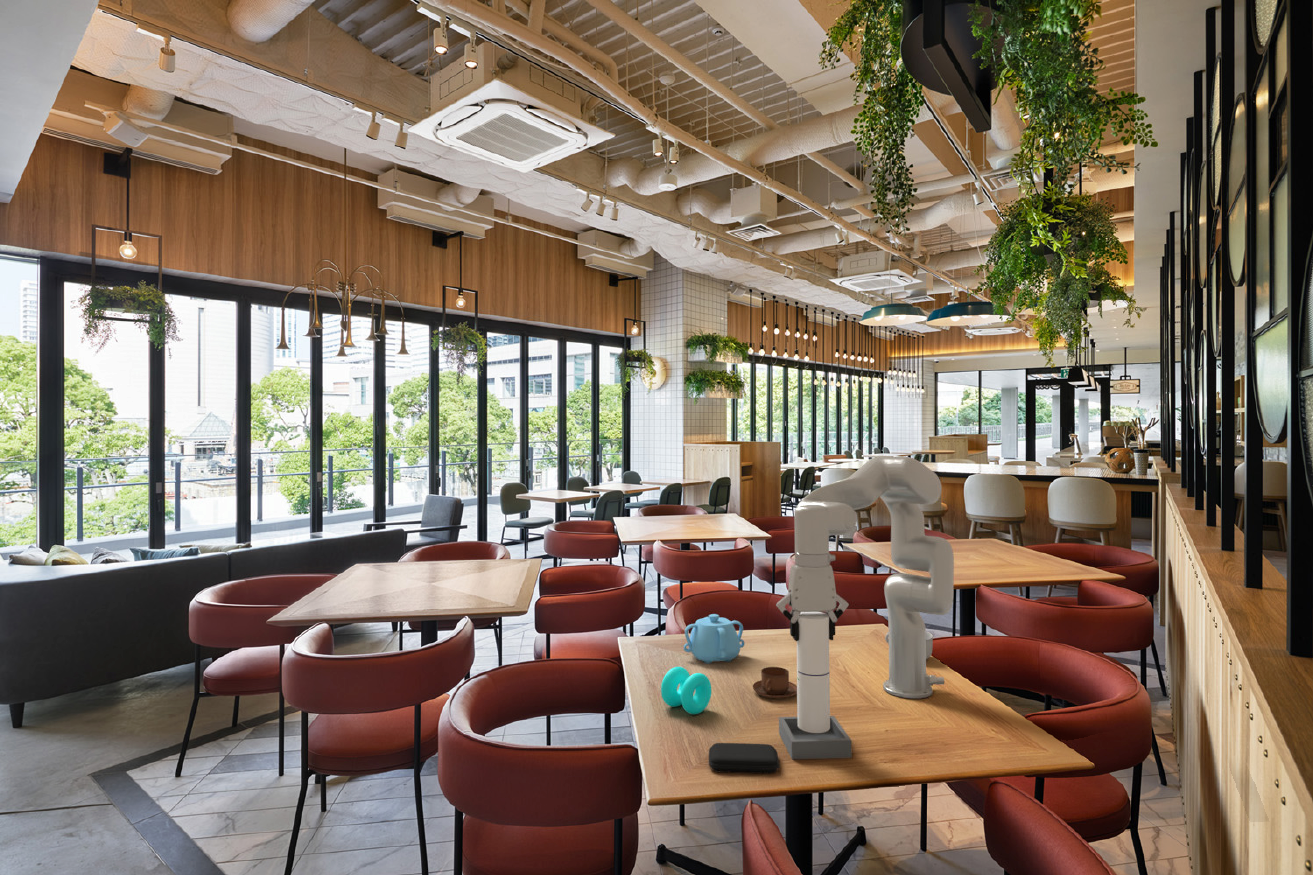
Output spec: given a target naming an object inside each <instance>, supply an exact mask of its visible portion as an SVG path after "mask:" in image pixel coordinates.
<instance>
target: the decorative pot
mask: <svg viewBox="0 0 1313 875" xmlns="http://www.w3.org/2000/svg"><path fill="white" fill-rule="evenodd" d="M734 625H738V626H739V629H738V633H737V631H736V630H737V629H736V628H735V626H734ZM689 630H691V631H690V635H689ZM743 633H744V626H743V624H742V623H741V622H740V621H738V620H732V621H731V620H729V619H728V618H726V617H720V615H719V614H717V613H712V614H709V615H708V616H705V617H703V618H699V619H697V620H696V621H695V623H691V624H688V625H687V626H686V627H685V629H684V637H685V638H686V643H685V644H684V645H683V651H684V652H686V653H691V654H692V655H693V657H694V658H695V659H697V660H699V661H703V663H704V664H712V663H713V662H721V661H722V662H726V663H729V662H732V660H733V659H736V658H737V657H738V656H739V653H740V651H741V648H743V647H745V641H744V639H742V635H743ZM740 642H741V643H740ZM687 646H688V648H687Z"/></svg>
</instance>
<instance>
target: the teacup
mask: <svg viewBox="0 0 1313 875" xmlns="http://www.w3.org/2000/svg"><path fill="white" fill-rule="evenodd" d="M933 638H934V634H932V633H931V632H929V631H927V630H926V660H928V659H929V658H930V657H931V656H932V653H933V644H934V642H933V641H934V640H933ZM884 639H885V642H886V643H887V645H889V631H888V632H886V634H885V637H884Z"/></svg>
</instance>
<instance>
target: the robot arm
mask: <svg viewBox="0 0 1313 875" xmlns="http://www.w3.org/2000/svg"><path fill="white" fill-rule="evenodd" d="M942 489H943V488H942V483H941V480H940V477H939V476H938V475H937V473H935V471H933V470H932V469H931V468H929V467H928V466H926V465H925V464H924V463H922V462H921V461H919V460H918V459H915V458H913V457H909V456H886V455H885V456H875V457H872V458H871V459H869V460H867V461H866V462H865V463H863V464H862V465H861V466H860V467H859V468H858V469H857V470H856V471H855V472H854V473H852V474H851V475H850V476H848V477H847V478H844V479H840V480H837V481H834V482H832V483H829V484H826V485H822V486H821V487H819V488H818V487H817V488H816V489H814V490H812V491H811V492H809V493H808V494H807V495H806V496H805V497H803V498H802V499H801V500H800V501H799V503H798V504H797V506H796V507H795V510H794V516H793V518H794V520H793V521H794V564H792V565H791V566H790V570H789V572H790V573H789V577H788V590H787V594H786V595H785V596H783V597H782V598H781V599H780V600H779V601H777V603H776V604H775V606H776V607H777V608H778V610H779V611H780V612H781V613H782V614H783V615H784V617H785V618H786V619H788V621H789V633H790V634H789V635H790V636H791V637H792V639H794V642H797V641H798V640H799V624H798V623H797V619H798V617H799V615H800V613H801V612H822V613H826V614H828V615H829V641H834V636H836V623H837V622H838V619H839V618H840V617H842V615H843V614H844V612H845V610H846V609H848V607H849V603H848V602H847V600H845V599H844V598H843V597H841V596H840V595H839V594H838V593H837V592H836V591H837V590H836V582H835V575H834V570H833V566H832V565H831V562H833V561H836V555H835V554H832V553H830V541H829V540H830V539H829V538H830V536H846V535H847V534H849V533H851V532H852V531H853V530H854V529H855V527H856V523H857V513H856V510H859V509H864V508H868V507H870V506H872V505H873V504H874V503H875V502H876V501H877V500H878V499H879V498H880V499H881V500H882V502H883V503H884V504H885V506H886V507H887V509H888V512H889V515H890V524H891V525H890V526H891V528H890V529H891V530H890V556H891V562H892V564H893V565H894V566H896V567H897V568H901V569H904V570H905V569H906V570H911V571H916V572H917V571H919V572H925V573H929V575H930V576H925V575H919V574H912V573H904V572H903V573H902V572H901V573H893V574H891V575H889V576H888V577H887V579H886V580H885V582H884V587H883V589H884V591H883V592H884V597H885V598H884V599H885V603H886V609H887V615H888V616H887V618H888V620H887V621H888V632H889V637H888V639H889V644H888V679H887V680H885V681H884V682H883V683H882V686H883V687H882V688H883V690H884V691H885V692H886V693H888V694H890V695H893V696H896V697H899V698H905V699H914V700H915V699H916V700H917V699H924V698H929V697H930V696H932V695H933V688H932V687H933V686H934V685H940V686H941V685H945V682H946V681H945V678H944V677H943V676H936V675H934V674H929V675H928V673H927V659H926V631H927V630H926V628H927V627H926V624H925V621H924V619H923V617H922V616H921V614H920V613H922V614H927V615H935V616H945V615H948V614H949V613H950V611H951V609H952V607H953V604H954V584H955V583H954V576H955V574H954V573H955V572H954V569H955V568H954V567H955V562H954V561H955V559H954V558H955V557H954V551H953V547H952V544H951V543H950V542H949V541H948V540H947V539H946V538H943V537H940V536H934V535H926V533H925V516H924V512H923V510H922V509H921V507H920V506H919V505H933V504H935V503H936V502H937V501H939V499H940V498H941V496H942V495H941V494H942ZM837 603H839V605H838V607H837ZM787 604H788V606H789V607H791V608H792V609H791V610H790V612H789V611H788V610H787V608H786V605H787Z"/></svg>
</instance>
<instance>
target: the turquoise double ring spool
mask: <svg viewBox="0 0 1313 875" xmlns="http://www.w3.org/2000/svg"><path fill="white" fill-rule="evenodd" d="M678 686H679V687H678ZM660 693H661V698H662V700H663V702H664V704H666V705H667V706H669V707H673V708H675V707H680V706H681V705H682V708H683V709H684V711H685V712H686V713H687V714H690V715H699V714H700V713H702V712H703V711H705V710H706V708H707V707H708V705H709V703H710V700H711V698H712V683H711V680H710V679H709V678H708V676H707V675H706V674H704V673H701V672H695V673H692V674H691V675H690V673H689V671H688V670H687V669H686V668H685V667H682V666H674V667H673V668H670V669H669V670H668V671H667V672H666V673H665V675H664V677H663V679H662V681H661V685H660Z"/></svg>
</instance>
